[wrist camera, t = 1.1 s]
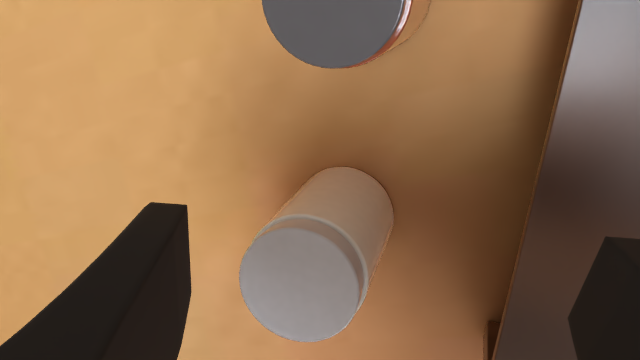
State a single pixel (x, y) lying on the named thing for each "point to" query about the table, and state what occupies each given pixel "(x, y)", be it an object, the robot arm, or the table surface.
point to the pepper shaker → (343, 28)
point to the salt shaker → (318, 255)
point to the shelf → (577, 183)
